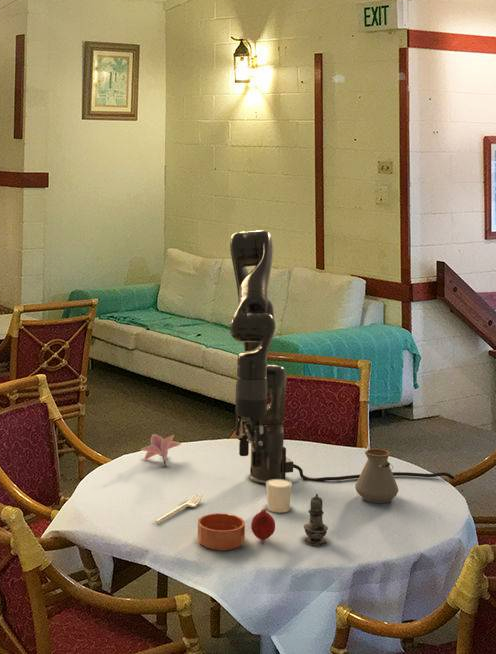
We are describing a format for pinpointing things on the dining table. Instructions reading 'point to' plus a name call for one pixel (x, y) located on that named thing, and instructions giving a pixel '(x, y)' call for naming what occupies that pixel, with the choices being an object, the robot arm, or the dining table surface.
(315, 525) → the pawn-shaped pepper mill
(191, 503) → the fork
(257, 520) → the onion
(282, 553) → the dining table surface
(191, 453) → the dining table surface
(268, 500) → the cream cylinder
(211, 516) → the bowl
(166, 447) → the lily
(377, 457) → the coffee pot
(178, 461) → the dining table surface
